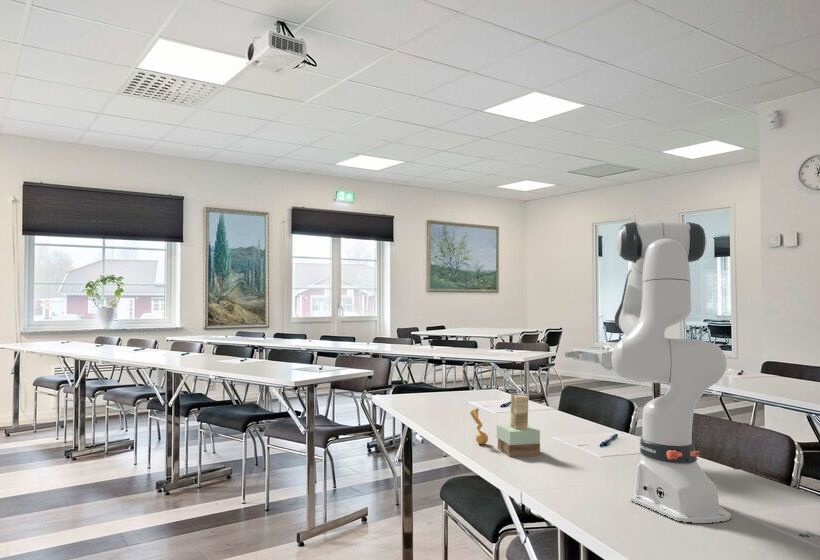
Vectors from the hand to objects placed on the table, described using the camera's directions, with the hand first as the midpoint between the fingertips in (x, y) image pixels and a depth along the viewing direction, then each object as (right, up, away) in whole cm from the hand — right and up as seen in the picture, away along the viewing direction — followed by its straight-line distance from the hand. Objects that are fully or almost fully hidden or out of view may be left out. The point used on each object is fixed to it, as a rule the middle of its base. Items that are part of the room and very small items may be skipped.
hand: (572, 355), depth 186 cm
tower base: (-17, -31, +1) cm, 35 cm away
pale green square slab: (-17, -27, +1) cm, 32 cm away
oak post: (-17, -23, +1) cm, 28 cm away
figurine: (-28, -31, +9) cm, 43 cm away
